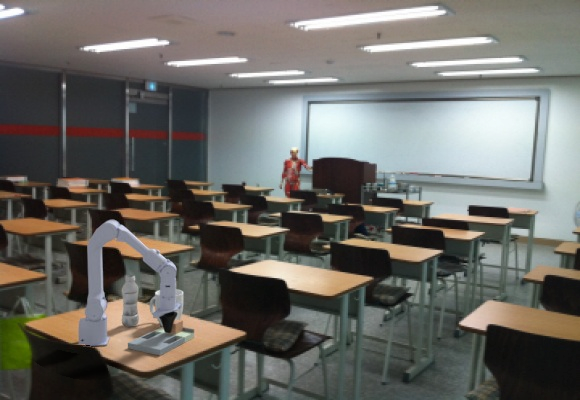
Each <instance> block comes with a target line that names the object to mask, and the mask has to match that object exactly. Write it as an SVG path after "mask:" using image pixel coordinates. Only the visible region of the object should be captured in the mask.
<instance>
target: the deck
mask: <svg viewBox="0 0 580 400" xmlns="http://www.w3.org/2000/svg"><path fill="white" fill-rule="evenodd" d="M194 338H195V329H194V328H191V327H184V326H183V331H182V332H180V333H178V334H176V335H175V334H170V333H166V332H164V328H163V326H161V327H159V328H157V329H154V330H152V331H150V332H148V333H146V334H144V335H142V336H140V337H139V336H138V337H137V338H135V339H133V340H131V341H129V342H128V343H127V349H130V350H134V351H138V352H143V353H147V354H152V355H156V356H162V355H165V354H166V353H168V352H170V351H172V350H174V349H176V348H177V347H179V346H181V345H183V344H185V343H186V342H189V341H190V340H192V339H194Z"/></svg>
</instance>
